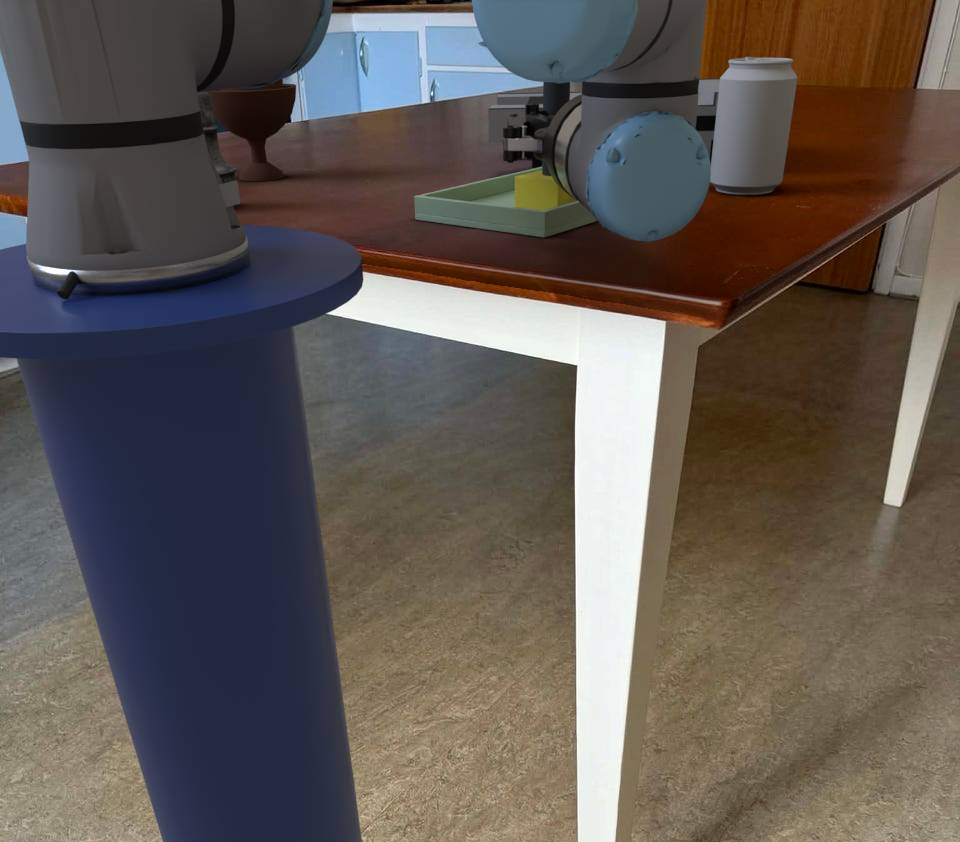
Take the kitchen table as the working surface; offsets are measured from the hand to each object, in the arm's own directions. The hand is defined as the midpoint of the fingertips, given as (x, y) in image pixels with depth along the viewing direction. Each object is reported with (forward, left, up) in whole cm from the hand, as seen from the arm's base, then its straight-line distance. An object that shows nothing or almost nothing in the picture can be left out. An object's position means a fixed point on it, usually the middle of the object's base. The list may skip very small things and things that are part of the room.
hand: (544, 119), depth 91 cm
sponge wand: (-4, -4, -7) cm, 9 cm away
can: (+18, -13, -8) cm, 24 cm away
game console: (+28, +8, -8) cm, 30 cm away
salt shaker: (-19, +29, -8) cm, 35 cm away
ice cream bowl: (-3, +40, -8) cm, 41 cm away
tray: (-2, -1, -8) cm, 8 cm away
